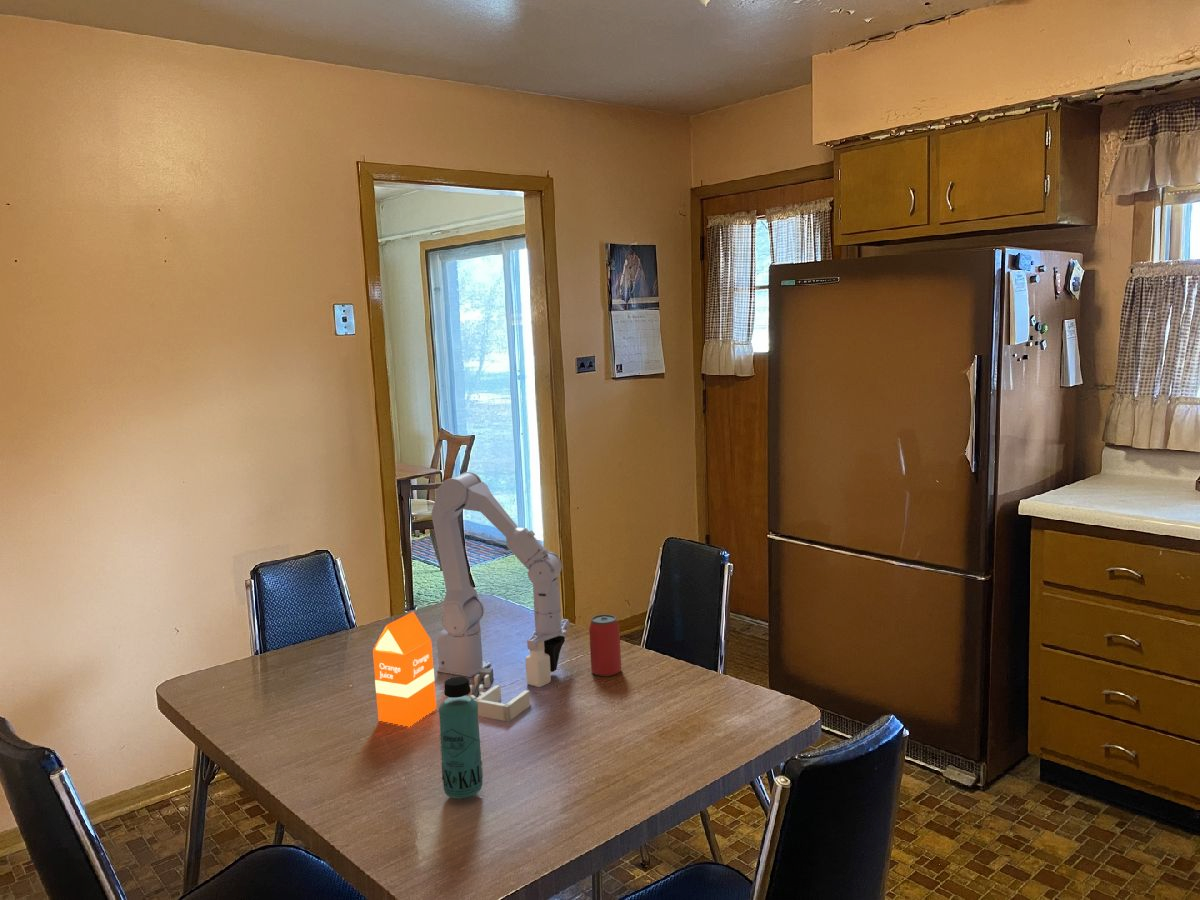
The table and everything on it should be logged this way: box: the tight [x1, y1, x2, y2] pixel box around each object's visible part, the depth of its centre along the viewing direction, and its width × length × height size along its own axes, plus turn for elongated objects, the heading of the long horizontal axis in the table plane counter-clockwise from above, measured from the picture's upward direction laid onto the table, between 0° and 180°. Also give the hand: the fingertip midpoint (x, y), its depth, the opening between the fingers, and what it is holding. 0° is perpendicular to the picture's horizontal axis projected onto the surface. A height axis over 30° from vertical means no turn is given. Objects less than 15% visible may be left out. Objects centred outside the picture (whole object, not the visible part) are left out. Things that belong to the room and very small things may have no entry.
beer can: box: [588, 614, 622, 677], centre depth 190 cm, size 7×7×12 cm
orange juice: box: [372, 611, 437, 728], centre depth 172 cm, size 8×9×20 cm
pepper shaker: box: [524, 641, 552, 688], centre depth 185 cm, size 4×4×10 cm
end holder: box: [475, 684, 531, 722], centre depth 174 cm, size 8×8×3 cm
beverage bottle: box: [438, 675, 484, 799], centre depth 140 cm, size 6×7×20 cm
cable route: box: [473, 667, 495, 698], centre depth 182 cm, size 3×16×2 cm, turn 0°
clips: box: [467, 673, 492, 700], centre depth 181 cm, size 4×13×2 cm, turn 3°
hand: (550, 670), depth 190 cm, fingers closed
